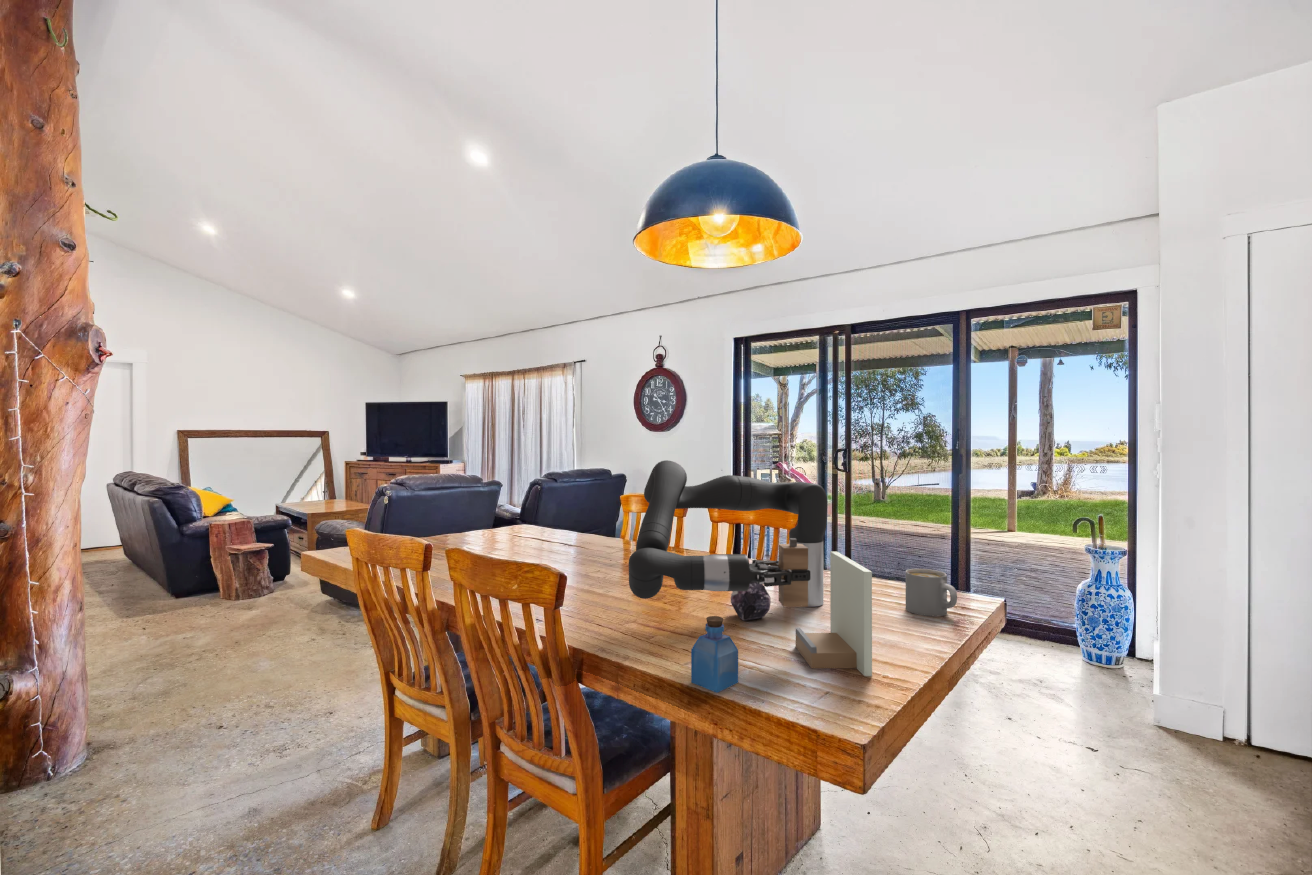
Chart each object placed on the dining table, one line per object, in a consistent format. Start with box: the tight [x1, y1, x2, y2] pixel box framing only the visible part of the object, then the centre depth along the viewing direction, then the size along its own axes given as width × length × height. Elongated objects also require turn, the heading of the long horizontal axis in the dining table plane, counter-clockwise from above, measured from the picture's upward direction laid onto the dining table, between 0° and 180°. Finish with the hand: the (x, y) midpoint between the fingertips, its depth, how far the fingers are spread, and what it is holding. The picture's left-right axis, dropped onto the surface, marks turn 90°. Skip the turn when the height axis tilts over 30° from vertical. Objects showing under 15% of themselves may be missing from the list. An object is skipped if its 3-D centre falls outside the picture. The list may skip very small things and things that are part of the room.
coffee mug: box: [905, 568, 958, 617], centre depth 153 cm, size 13×10×10 cm
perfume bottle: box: [690, 615, 739, 694], centre depth 109 cm, size 6×6×12 cm
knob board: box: [778, 538, 808, 608], centre depth 122 cm, size 4×5×14 cm
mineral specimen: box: [730, 581, 772, 622], centre depth 148 cm, size 10×10×10 cm
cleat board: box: [795, 551, 873, 677], centre depth 122 cm, size 20×10×20 cm, turn 1°
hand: (806, 572), depth 122 cm, fingers closed on knob board, 4 cm apart
